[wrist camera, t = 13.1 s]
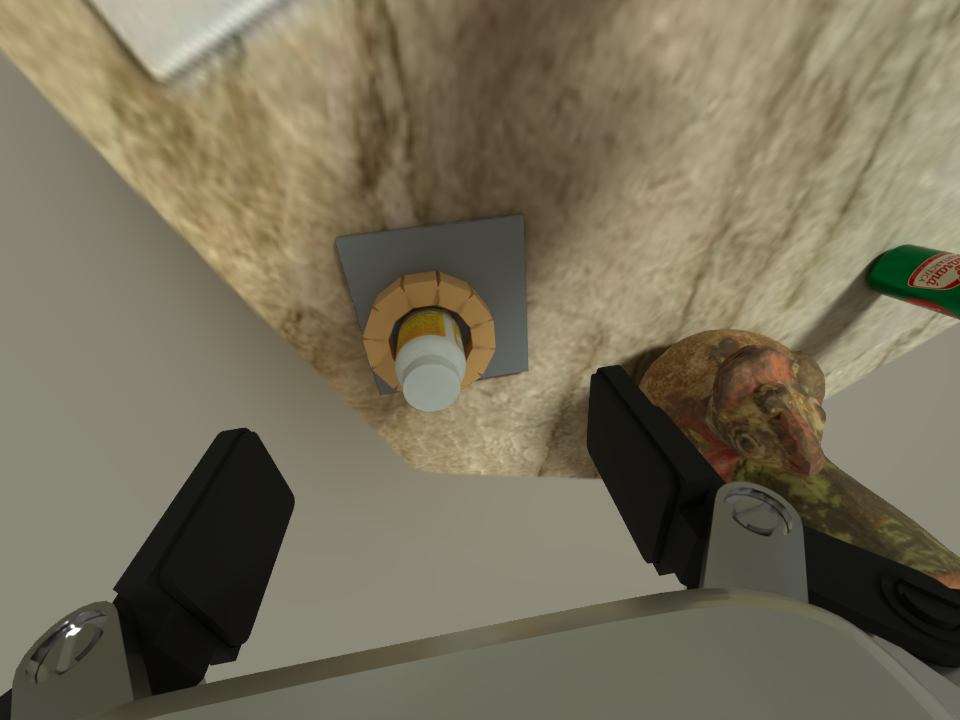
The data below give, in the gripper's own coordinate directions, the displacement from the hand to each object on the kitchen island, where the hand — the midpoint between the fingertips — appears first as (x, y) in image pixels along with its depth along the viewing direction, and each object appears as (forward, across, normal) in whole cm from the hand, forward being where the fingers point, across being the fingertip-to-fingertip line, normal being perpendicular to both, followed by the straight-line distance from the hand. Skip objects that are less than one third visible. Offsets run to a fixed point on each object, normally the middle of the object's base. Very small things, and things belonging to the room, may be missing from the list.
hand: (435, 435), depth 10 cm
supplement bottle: (+22, +1, +8) cm, 24 cm away
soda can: (+24, -47, +10) cm, 54 cm away
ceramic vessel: (+24, -25, +19) cm, 39 cm away
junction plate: (+23, 0, +7) cm, 24 cm away
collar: (+22, +1, +8) cm, 24 cm away
